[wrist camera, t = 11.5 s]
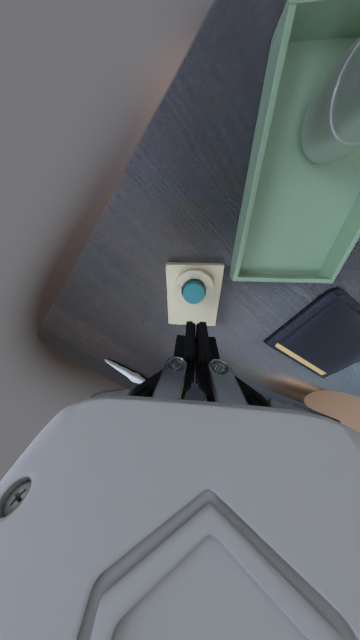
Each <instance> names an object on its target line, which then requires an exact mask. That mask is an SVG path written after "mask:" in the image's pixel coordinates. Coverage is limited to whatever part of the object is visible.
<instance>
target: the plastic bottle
mask: <svg viewBox="0 0 360 640" xmlns="http://www.w3.org/2000/svg"><path fill="white" fill-rule="evenodd" d="M301 143H302V149H303V152H304V154H305V156H306V157H307V159H308V160H310V161H311V162H313V163H316V164H326V163H330V162H333V161H337V160H340V159H342V158H344V157H347V156H348V155H350V154H351V153H353V152H355V151H356V150H357V149H359V148H360V38H359V39H358V40H357V41H356V42H355V43H354V44H353V45H352V46H351V47H350V48H349V49H348V50H347V51H346V52H345V53H344V54H343V55H342V56H341V57H340V58H339V59H338V61H337V62H336V63H335V64H334V65H333V67H332V68H331V70H330V71H329V72H328V74H327V75H326V77H325V78H324V80H323V82H322V83H321V85H320V86H319V88H318V90H317V91H316V93H315V95H314V96H313V98H312V100H311V102H310V104H309V106H308V109H307V111H306V114H305V117H304V121H303V125H302V131H301Z"/></svg>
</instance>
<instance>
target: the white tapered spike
mask: <svg viewBox="0 0 360 640" xmlns="http://www.w3.org/2000/svg"><path fill="white" fill-rule="evenodd" d="M104 360H105V359H104ZM105 361H106V362H107V363H108V364H110V365H111V366H112V367H114V368H115V369H117V370H118V371H119V372H121V373H122V374H124V375H125V376H127V377H128V378H129V379H130V380H131V381H132V382H134V383H139V384H141V383H142V382H144V381H145V379H144V378H143V377H142V376H141V375H140V374H138V373H136V372H132V371H130V370H129V369H127V368H125V367H122V366H120V365H118V364H116V363H114V362H112V361H109V360H105Z"/></svg>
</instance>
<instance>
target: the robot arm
mask: <svg viewBox="0 0 360 640" xmlns="http://www.w3.org/2000/svg"><path fill="white" fill-rule="evenodd" d="M195 371H196V383H197V384H198V386H199V388H200V389H201V390H202V391H203V392H204V398H205V401H193V400H185V396H186V392H187V391H188V390H189V389H190V388H191V383H194V373H195ZM0 640H360V433H359V432H357V431H355V430H353V429H351V428H350V427H348V426H346V425H343V424H341V423H339V422H336V421H334V420H332V419H329V418H326V417H323V416H320V415H316V414H314V413H312V412H311V411H310V410H307V409H305V408H301V407H298V406H294V405H291V404H287V403H284V402H280V401H277V400H273V399H270V398H269V400H267V399H265V398H264V397H263V396H262V395H261V394H259V393H258V392H257V391H255V390H254V389H252V388H251V387H250V386H248V385H247V384H245V383H244V382H243V381H241V380H240V379H239V378H237V377H236V376H234V374H233V372H232V370H231V367H230V366H229V364H228V363H227V362H226V361H224V360H221V359H220V357H219V353H218V348H217V344H216V339H215V337H208V332H207V325H206V322H199V323H197V330H196V335H195V323H193V321H187V323H186V336H183V335H177V339H176V345H175V351H174V357H171V358H169V359H168V360H167V362H166V364H165V366H164V369H163V370H161V371H159V372H158V373H156V374H155V375H153V376H152V377H150V378H148V379H147V380H145V381H144V382H142V383H141V384H139V385H138V386H136V387H135V388H134V389H130V388H123V389H116V390H109V391H102V392H98V393H96V394H94V395H92V396H91V397H90V398H89V399H85V400H81V401H79V402H76V403H74V404H72V405H69V406H68V407H66V408H65V409H63V410H62V411H60V412H59V413H58V414H57V415H56V416H55V417H54V418H53V419H52V420H51V421H50V422H49V423H48V424H47V425H46V426H45V427H44V429H43V430H42V431H41V432H40V433H39V435H37V437H36V438H35V439H34V440H33V441H32V442H31V444H30V445H29V446H28V447H27V449H26V450H25V451H24V452H23V454H22V455H21V456H20V457H19V459H18V460H17V461H16V462H15V464H14V465H13V466H12V468H11V469H10V470H9V471H8V472H7V474H6V475H5V476H4V477H3V479H2V480H1V482H0Z"/></svg>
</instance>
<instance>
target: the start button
mask: <svg viewBox="0 0 360 640" xmlns="http://www.w3.org/2000/svg"><path fill="white" fill-rule="evenodd" d="M204 296H205V291H204V287H203V285H202V283H201V282H199V281H197V280H191V281H189V282H187V283H186V284H185V286H184V289H183V297H184V299H185V300H186V301H187V302H188V303H190V304H197V303H199V302H201V301H202V300H203V298H204Z"/></svg>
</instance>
